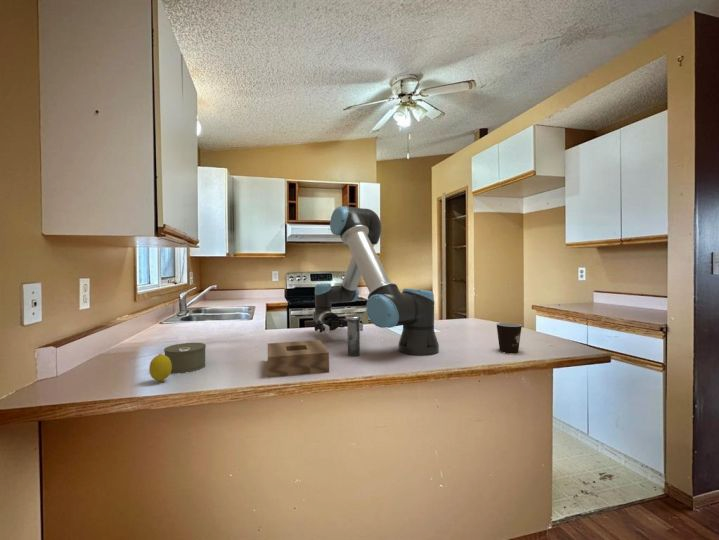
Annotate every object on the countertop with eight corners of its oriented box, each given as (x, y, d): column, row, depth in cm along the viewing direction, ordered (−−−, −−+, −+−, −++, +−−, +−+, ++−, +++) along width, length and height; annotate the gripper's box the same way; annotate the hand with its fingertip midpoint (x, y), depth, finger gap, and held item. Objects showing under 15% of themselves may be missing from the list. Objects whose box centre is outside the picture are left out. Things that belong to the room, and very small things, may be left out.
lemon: (148, 381, 101) (148, 353, 101) (170, 377, 104) (170, 350, 104) (150, 386, 96) (150, 357, 96) (173, 382, 100) (172, 354, 99)
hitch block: (320, 357, 125) (320, 340, 125) (329, 372, 108) (328, 352, 108) (267, 361, 121) (267, 343, 121) (268, 377, 103) (267, 357, 103)
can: (207, 361, 121) (206, 341, 121) (205, 371, 110) (204, 349, 110) (167, 365, 117) (167, 344, 117) (161, 376, 106) (160, 353, 106)
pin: (363, 353, 130) (363, 315, 130) (359, 357, 125) (359, 317, 124) (348, 352, 132) (348, 314, 131) (343, 356, 126) (343, 317, 126)
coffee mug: (506, 355, 126) (506, 327, 126) (491, 349, 135) (491, 323, 134) (534, 352, 129) (534, 325, 129) (518, 347, 137) (518, 321, 137)
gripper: (355, 327, 160) (375, 336, 140) (301, 331, 151) (313, 341, 131) (355, 310, 160) (375, 317, 140) (301, 313, 151) (313, 321, 131)
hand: (345, 329), depth 136 cm, fingers open, 13 cm apart
